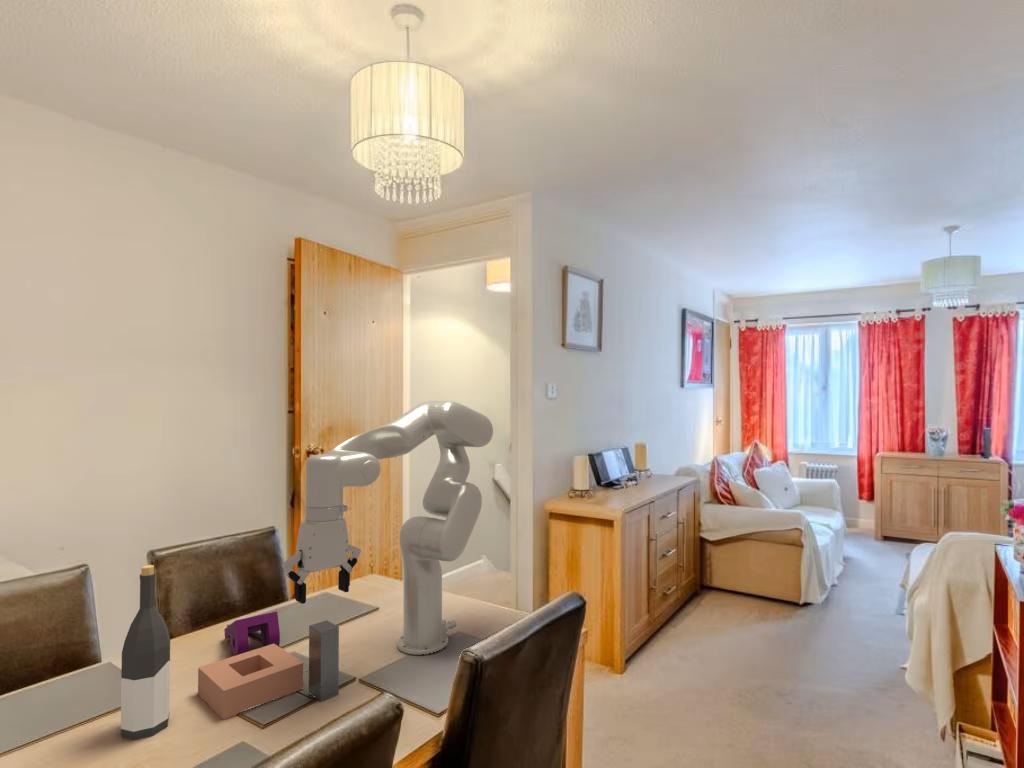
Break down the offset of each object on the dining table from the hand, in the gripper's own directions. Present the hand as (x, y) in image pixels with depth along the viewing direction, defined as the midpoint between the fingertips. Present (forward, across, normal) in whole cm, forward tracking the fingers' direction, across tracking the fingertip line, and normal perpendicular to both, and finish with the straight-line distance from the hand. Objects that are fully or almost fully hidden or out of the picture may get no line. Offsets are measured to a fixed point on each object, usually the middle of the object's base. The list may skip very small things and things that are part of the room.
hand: (322, 596), depth 120 cm
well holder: (+20, +9, -12) cm, 26 cm away
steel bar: (+20, -1, 0) cm, 20 cm away
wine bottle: (+21, +28, -13) cm, 38 cm away
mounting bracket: (+21, 0, -35) cm, 41 cm away
